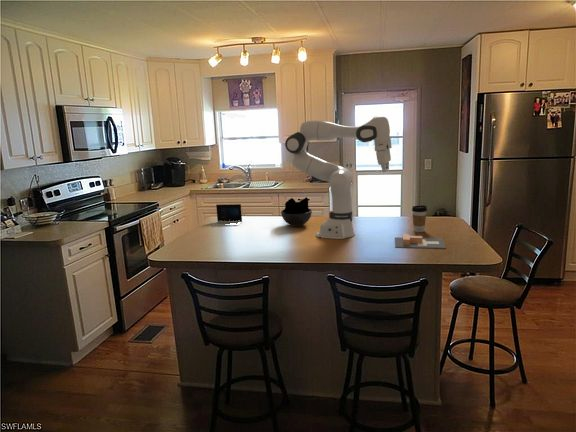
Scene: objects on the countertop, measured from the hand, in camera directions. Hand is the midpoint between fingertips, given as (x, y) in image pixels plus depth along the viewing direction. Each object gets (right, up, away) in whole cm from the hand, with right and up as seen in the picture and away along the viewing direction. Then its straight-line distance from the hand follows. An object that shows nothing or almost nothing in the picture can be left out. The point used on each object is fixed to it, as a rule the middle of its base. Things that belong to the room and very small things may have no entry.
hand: (385, 170), depth 235 cm
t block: (+12, -39, -8) cm, 42 cm away
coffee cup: (+23, -34, +16) cm, 44 cm away
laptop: (-96, -31, +57) cm, 116 cm away
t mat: (+16, -40, -9) cm, 44 cm away
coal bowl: (-48, -32, +42) cm, 72 cm away
